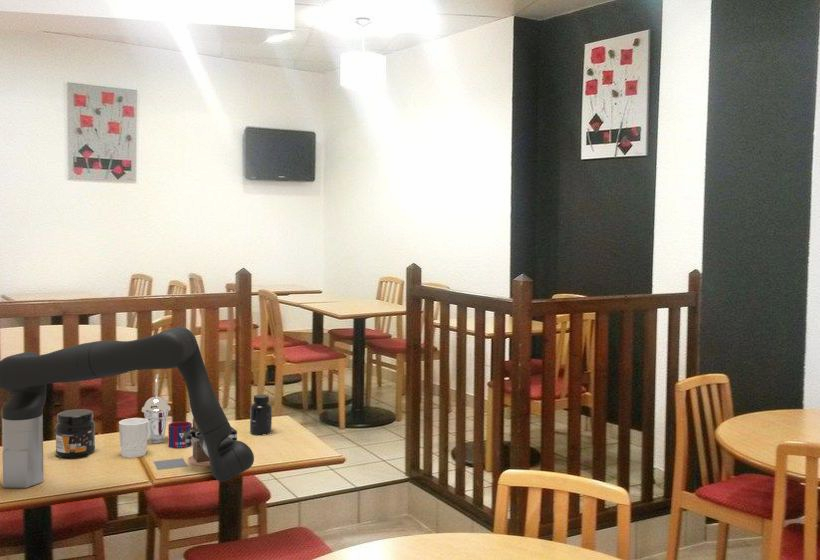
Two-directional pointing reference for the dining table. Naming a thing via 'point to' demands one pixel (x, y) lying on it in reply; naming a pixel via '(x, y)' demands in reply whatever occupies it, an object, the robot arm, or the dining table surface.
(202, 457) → the tall wooden block
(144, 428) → the white cup
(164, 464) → the coaster
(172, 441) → the mug
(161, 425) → the cup with straw
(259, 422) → the supplement bottle
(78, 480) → the dining table surface
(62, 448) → the supplement container
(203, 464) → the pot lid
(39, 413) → the robot arm
